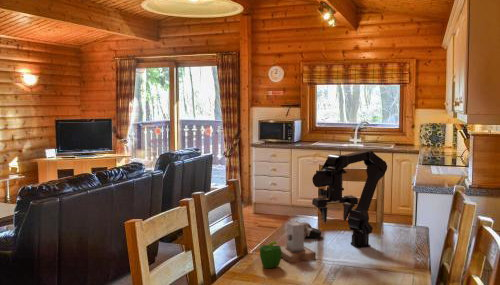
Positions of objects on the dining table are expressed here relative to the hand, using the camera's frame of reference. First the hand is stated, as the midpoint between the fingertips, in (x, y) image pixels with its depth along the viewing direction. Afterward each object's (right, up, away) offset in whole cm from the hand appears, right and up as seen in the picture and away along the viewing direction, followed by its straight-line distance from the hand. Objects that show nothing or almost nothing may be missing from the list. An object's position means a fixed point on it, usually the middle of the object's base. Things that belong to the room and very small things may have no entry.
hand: (334, 221), depth 206 cm
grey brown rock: (-8, -11, +23) cm, 27 cm away
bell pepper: (-28, -15, -16) cm, 36 cm away
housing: (-17, -11, -5) cm, 21 cm away
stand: (-17, -14, -4) cm, 22 cm away
